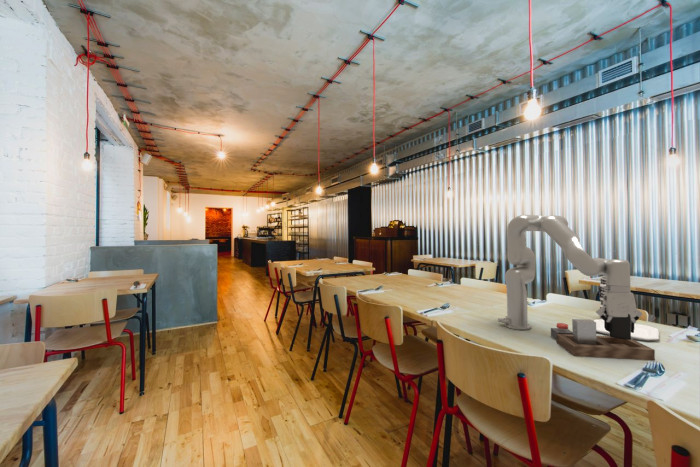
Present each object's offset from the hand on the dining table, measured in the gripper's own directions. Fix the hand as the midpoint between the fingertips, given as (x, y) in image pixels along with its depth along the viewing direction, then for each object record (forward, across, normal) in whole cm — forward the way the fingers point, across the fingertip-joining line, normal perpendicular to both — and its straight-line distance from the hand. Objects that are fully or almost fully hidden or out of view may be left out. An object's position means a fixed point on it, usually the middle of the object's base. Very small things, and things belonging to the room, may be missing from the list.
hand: (619, 331), depth 126 cm
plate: (+9, +18, +28) cm, 35 cm away
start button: (+3, -16, +13) cm, 21 cm away
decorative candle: (+9, +23, +47) cm, 53 cm away
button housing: (+9, -16, +13) cm, 22 cm away
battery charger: (+3, 0, 0) cm, 3 cm away
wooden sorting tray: (+9, -7, 0) cm, 11 cm away
